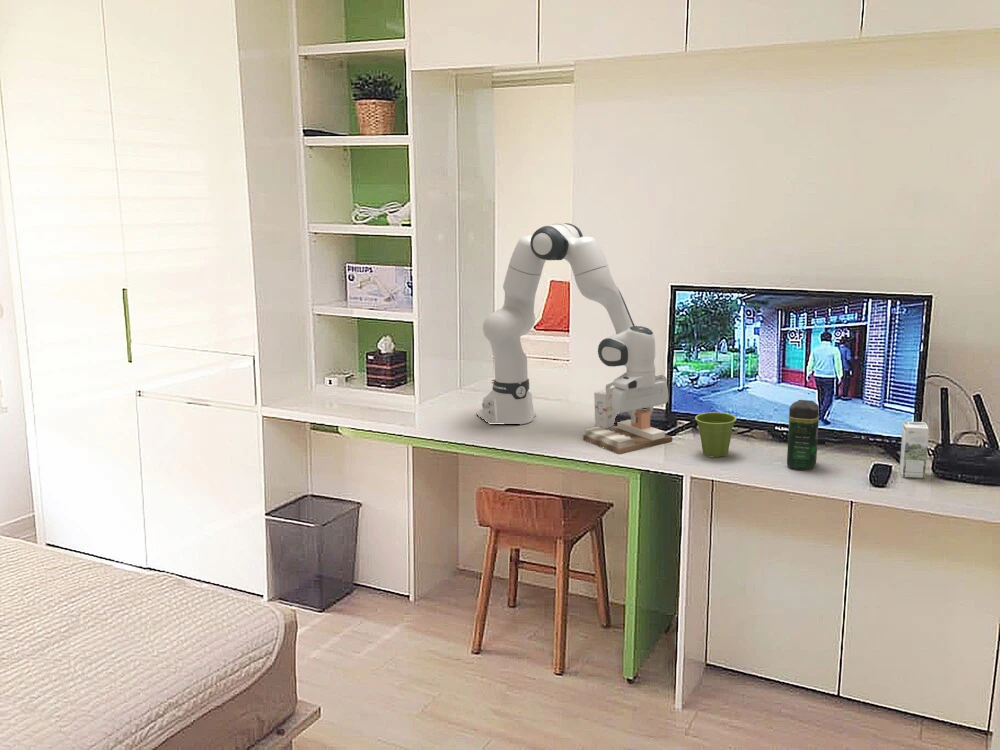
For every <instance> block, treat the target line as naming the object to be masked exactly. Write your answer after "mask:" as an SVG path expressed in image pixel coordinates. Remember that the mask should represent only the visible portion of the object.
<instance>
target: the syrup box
mask: <svg viewBox="0 0 1000 750" xmlns="http://www.w3.org/2000/svg"><path fill="white" fill-rule="evenodd" d="M901 427H902V428H901V429H902V430H901V443H900V457H899V472H900V475H901V477H902V478H906V479H908V478H909V479H926V467H927V456H928V444H929V433H930V432H929V431H930V428H929V427H928V425H927V423H926V422H924V421H903V422H902V426H901Z"/></svg>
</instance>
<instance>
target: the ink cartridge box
mask: <svg viewBox="0 0 1000 750" xmlns="http://www.w3.org/2000/svg"><path fill="white" fill-rule="evenodd" d="M612 386H613V387H612ZM614 388H615V386H614V385H613V381H612V382H610V383H607V384H606V385H605V388H602V389H600V390H597V391H596V392H595V391H594V393H593V394H594V397H593V398H594V427H599V426H602V427H604V428H607V429H609V428H611V427H613V426H615V425H616V424H614V423H615V418H616V416H617V414H619V413H618V412H616V411H614V410H613V409H612V393H613V390H614Z"/></svg>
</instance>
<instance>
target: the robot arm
mask: <svg viewBox="0 0 1000 750" xmlns="http://www.w3.org/2000/svg"><path fill="white" fill-rule="evenodd" d="M518 239H519V240H518V241H517V243H516V245H515V247H514V248H513V249H514V250H513V252H512V254H511V257H510V259H509V262H508V266H507V270H506V273H505V276H504V281H503V285H502V288H503V291H504V301H503V305H502V308H500V309H497V310H495V311H493V312H491V313H490V314H489V315H488V316H487V317H486V318H485V320H484V321H483V324H482V331H483V335H484V337H485V338H486V339H487V340H488V341H489V344H490V348H491V351H492V355H493V361H494V379H492V380H491V381H492V382H491V384H492V389H491V391H490V392H489V393H488V394H486V396H484V397H483V399H482V402H481V406H482V408H481V409H479V410H477V411H476V412H475V415H476V414H477V415H478V416H479V418H480V417H481V418H483V419H484V420H486V421H487V422H489V423H504V424H520V425H525V424H528V423H529V424H530V423H531V422H533V421H534V419H535V417H537V412H536V411H534V402H533V395H532V393H531V392H530V391H529V390H530V379H529V377H528V356H527V355H526V353H525V352H524V350H523V346H522V342H521V337H523V336H524V335H526V334H528V333H529V332H530V330H532V328H533V327H534V326H535V322H536V314H535V301H536V300H535V299H536V296H537V295H536V294H537V290H538V287H539V284H540V283H539V282H540V279H541V276H542V273H543V270H544V266H545V263H546V261H562V260H565V261H567V262H568V263H569V265H570V267H571V270H572V273H573V277H574V280H575V284H576V286H577V289H578V290H579V292H580V294H581V295H582V296H583V297H584V298H586V299H588V300H590V301H594V302H596V303H598V304H599V305H601V306H603V307H604V308H605V310H606V311H607V314H608V316H609V318H610V321H611V324H612V326H613V328H614V330H615V334H613V335H610V336H607V337H606V338H604V339H602V340H601V341H599V345H598V346H597V355H598V358H599V360H600V362H601V363H602V364H604V365H605V366H606V367H611V368H612V367H614V368H615V367H620V366H621V367H622V366H624V367H626V372H624V373H623V374H621V375H620V376H618V377H617V378H615V379H613V381H612V382H613V385H612V386H613V387H615V388H614V390H613V393H612V409H613V410H614V411H616V412H618V413H620V414H622V413H628V415H629V416H630V420H631V423H638V417H635V414H634V413H636V410H637V409H642V410H643V409H646V410H645V411H648V412H650V416H651V414H652V413H653V411H654V407H655V406H660V405H665V404H667V403H668V402H669V389H668V378H667V377H666V376H665V375H663V374H660V375H656V366H655V360H656V359H655V358H656V341H655V339H656V338H655V335H654V332H653V331H652V329H650V328H648V327H645V326H641V325H640V326H639V325H636V324H635V323H634V321H633V319H632V317H631V313H630V311H629V309H628V306H627V304H626V301H625V299H624V297H623V295H622V293H621V291H620V289H619V288H618V286H617V284H616V283H615V281H614V279H613V276H612V274H611V271H610V267H609V264H608V262H607V259H606V257H605V254H604V251H603V250H602V247H601V246H600V244H599V242H598V240H597V239H596V238H595V237H592V236H584V235H583V232H582V231H581V229H580V228H578V226H576V225H574V224H572V223H553V224H550V225H544V226H541V227H539V228H538V229H536V231H534V232H533V234H526V235H523V236H521V237H520V238H518ZM477 415H476V416H477ZM478 416H477V417H478ZM481 418H480V419H481ZM484 420H483V421H484Z"/></svg>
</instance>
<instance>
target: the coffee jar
mask: <svg viewBox="0 0 1000 750" xmlns="http://www.w3.org/2000/svg"><path fill="white" fill-rule="evenodd" d="M819 416H820V405H819V404H817V403H816V402H815V401H813V400H806V399H798V400H797V401H794V402H793V403H792V404H791V405H790V406H789V413H788V431H787V432H788V436H787V452H786V453H787V454H786V465H787V467H789V468H792V469H794V470H797V469H801V470H800V471H804V470H812V469H814V468H815V466H816V464H817V454H818V453H817V452H818V439H819V424H820V423H819V421H820V417H819Z"/></svg>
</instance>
